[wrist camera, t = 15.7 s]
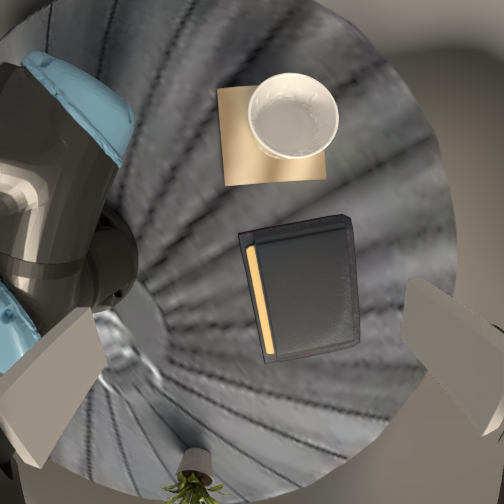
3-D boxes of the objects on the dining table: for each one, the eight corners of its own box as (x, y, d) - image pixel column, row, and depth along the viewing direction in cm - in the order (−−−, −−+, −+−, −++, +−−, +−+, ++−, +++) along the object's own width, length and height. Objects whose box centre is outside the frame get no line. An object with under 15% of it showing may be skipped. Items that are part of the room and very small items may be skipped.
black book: (362, 349, 41) (260, 369, 41) (358, 343, 43) (260, 362, 43) (357, 213, 36) (236, 231, 36) (352, 211, 38) (237, 228, 38)
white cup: (237, 112, 33) (234, 88, 23) (299, 92, 32) (318, 63, 22) (261, 173, 34) (267, 171, 25) (323, 152, 34) (351, 143, 24)
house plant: (256, 456, 48) (260, 525, 32) (213, 481, 50) (209, 542, 34) (194, 424, 45) (181, 499, 29) (156, 453, 47) (139, 517, 32)
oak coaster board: (226, 185, 36) (225, 186, 35) (218, 92, 33) (217, 88, 32) (323, 178, 36) (326, 178, 35) (314, 87, 33) (316, 83, 32)
